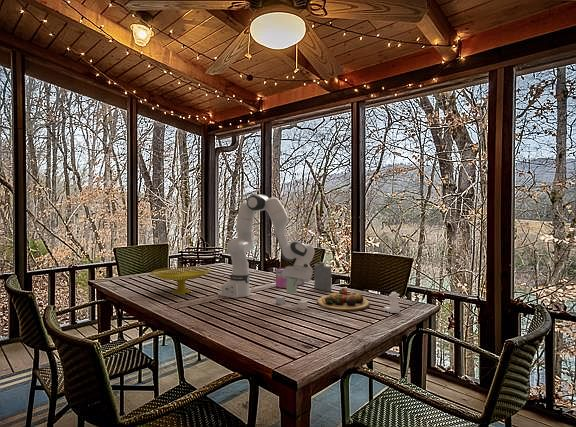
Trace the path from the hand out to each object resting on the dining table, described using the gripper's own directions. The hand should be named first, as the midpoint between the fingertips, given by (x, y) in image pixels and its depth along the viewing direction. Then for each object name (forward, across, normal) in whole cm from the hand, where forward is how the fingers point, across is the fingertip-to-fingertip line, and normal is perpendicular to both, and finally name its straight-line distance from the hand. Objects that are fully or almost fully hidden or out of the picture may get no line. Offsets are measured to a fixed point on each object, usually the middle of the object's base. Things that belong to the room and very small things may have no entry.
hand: (291, 285), depth 216 cm
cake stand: (+24, -80, -5) cm, 84 cm away
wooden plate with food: (-7, +24, +26) cm, 35 cm away
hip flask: (-25, -7, +43) cm, 51 cm away
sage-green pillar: (+3, 0, +4) cm, 5 cm away
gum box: (-23, -34, +41) cm, 58 cm away
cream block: (+9, +9, +9) cm, 15 cm away
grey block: (+9, -8, +9) cm, 15 cm away
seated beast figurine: (-9, +55, +27) cm, 62 cm away
